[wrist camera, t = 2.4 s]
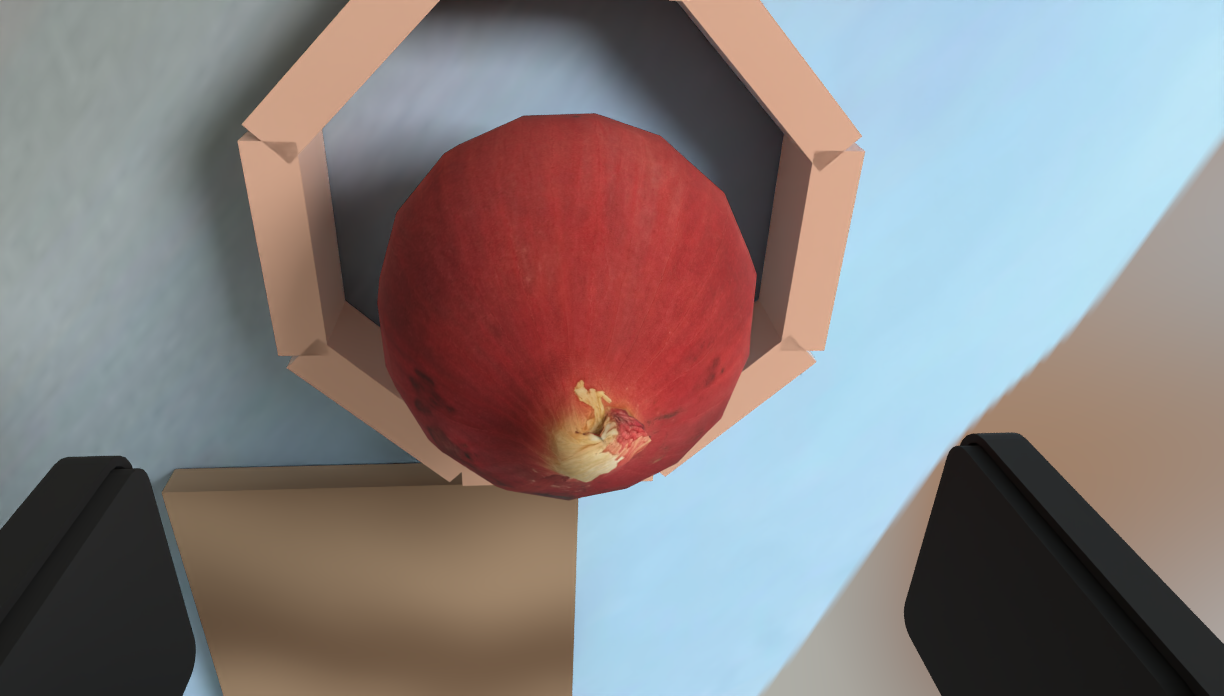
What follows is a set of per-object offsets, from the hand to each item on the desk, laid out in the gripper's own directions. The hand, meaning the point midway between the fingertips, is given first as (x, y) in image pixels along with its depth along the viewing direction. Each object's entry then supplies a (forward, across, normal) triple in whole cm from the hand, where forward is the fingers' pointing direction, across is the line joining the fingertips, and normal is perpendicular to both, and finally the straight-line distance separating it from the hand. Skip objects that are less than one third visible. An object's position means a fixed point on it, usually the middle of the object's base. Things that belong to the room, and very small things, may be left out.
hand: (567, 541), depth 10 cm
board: (+8, +4, +10) cm, 13 cm away
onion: (+8, 0, -1) cm, 8 cm away
